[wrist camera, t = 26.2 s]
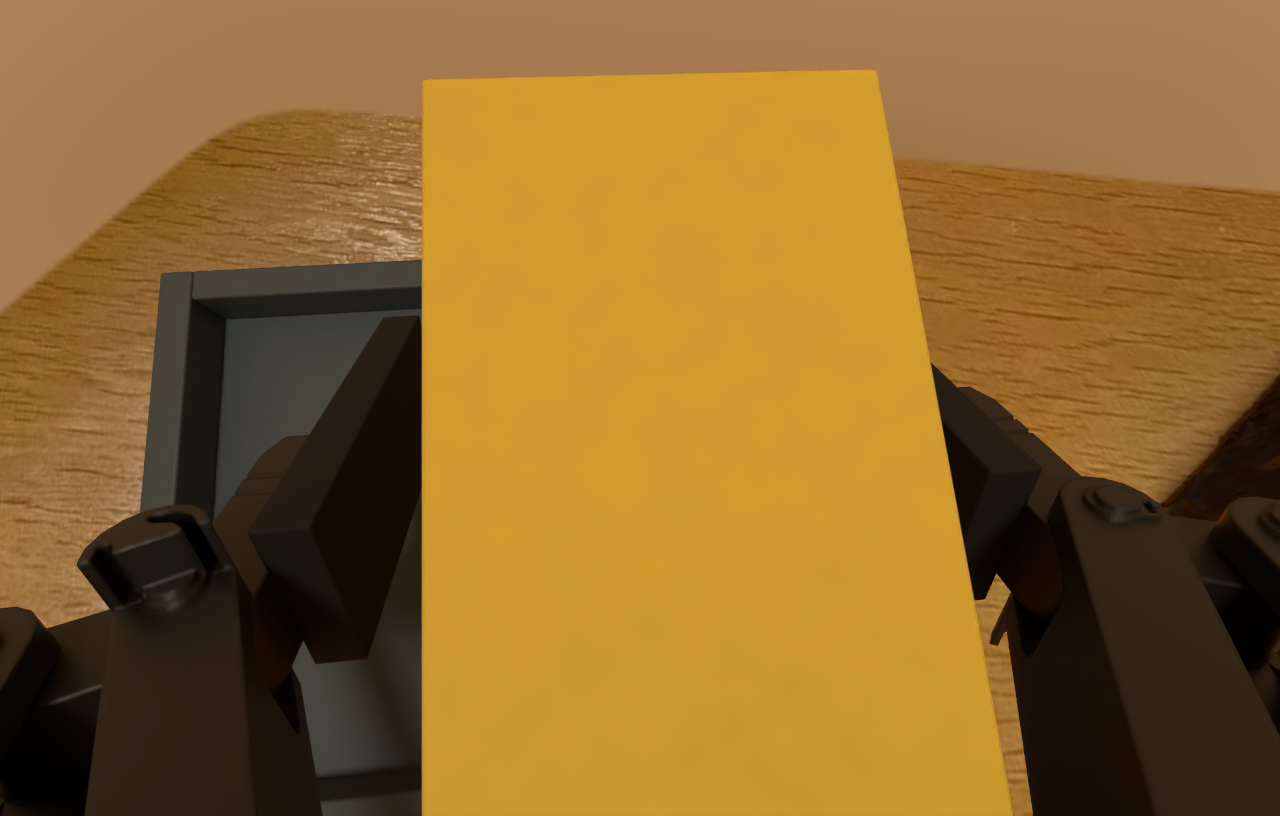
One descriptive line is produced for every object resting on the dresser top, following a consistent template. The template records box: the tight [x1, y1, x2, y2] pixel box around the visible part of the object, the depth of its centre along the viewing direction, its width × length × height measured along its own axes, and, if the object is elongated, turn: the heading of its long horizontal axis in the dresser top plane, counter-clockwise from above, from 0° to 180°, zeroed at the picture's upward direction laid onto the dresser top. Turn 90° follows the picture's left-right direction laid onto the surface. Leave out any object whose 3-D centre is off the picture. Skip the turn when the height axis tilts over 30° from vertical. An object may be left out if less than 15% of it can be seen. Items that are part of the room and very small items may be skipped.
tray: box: [140, 260, 422, 816], centre depth 16 cm, size 18×14×2 cm
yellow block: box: [422, 69, 1014, 816], centre depth 11 cm, size 5×8×11 cm, turn 4°
